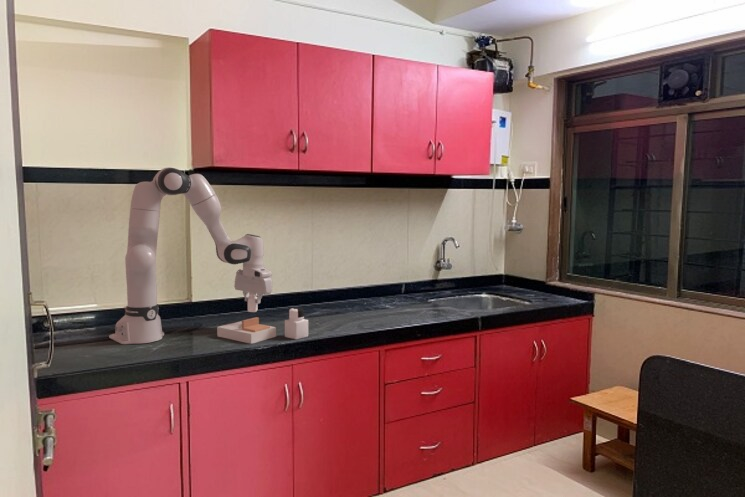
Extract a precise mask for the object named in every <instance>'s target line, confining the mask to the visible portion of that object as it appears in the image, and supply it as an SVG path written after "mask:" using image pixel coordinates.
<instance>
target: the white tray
mask: <svg viewBox="0 0 745 497" xmlns="http://www.w3.org/2000/svg"><path fill="white" fill-rule="evenodd" d="M242 321H243V320H241V321H237V322H231V323H227V324H224V325H220V326H217V328H216V331H217V332H216V333H217V337H218V338H223V339H227V340H231V341H237V342H241V343H246V344H256V343H259V342H263V341H265V340H268V339H273V338H276V337H277V327H275V326H272V325H269V326H270V328H268V329H264V330H261V331H257V332H252V331H248V330H243V329H242ZM261 325H263V324H261Z"/></svg>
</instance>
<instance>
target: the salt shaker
mask: <svg viewBox="0 0 745 497" xmlns="http://www.w3.org/2000/svg"><path fill="white" fill-rule="evenodd" d="M248 296H249V297H248V302H247V312H248V313H257V311H258V307H259V306H258V305H259V303H255V299H257V297H258V296H257V293H252V292H249V293H248Z"/></svg>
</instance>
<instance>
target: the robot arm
mask: <svg viewBox="0 0 745 497" xmlns="http://www.w3.org/2000/svg"><path fill="white" fill-rule="evenodd" d="M181 194H182V195H183V196H184V197H186V199H187V201H188V202H189V204H190V206H191V207H192V209H193V210H194V212H195V214H196V215H197V216H198V218H199V219H200V220H201V222H202V223H204V225H205V226H206V229H207V230H208V232H209V234H210V235H211V238H212V240H213V242H214V244H215V252H216V253H215V254H216V256H217V258H218V259H219V260H220V261H221V262H223V263H227V264H230V265H238V264H242V269H241V268H240V269H238V270H236V272H235V274H236V275H235V278H234V289H235V291H240V292H241V291H242V295H243V297H244V302H247V303H248V297H249V292H252V293H257V294H256V297H257V299H255V303H258V304H261V299H262V298H263V295H271V294H272V292H273V279H272V276H273V272H272V271H271V270H270V269H268V268H266V267H264V260H263V258H264V253H265V252H264V241H263V238H262V237H261V236H260V235H256V234H250V233H246V234H245V235H243V236H242V237H240V238H238V239H236V240H232V239H231V238H230V236H229V235H228V233H227V231H226V229H225V227H224V225H223V223H222V221H221V213H222V205H221V203H220V199H219V198H218V195H217V194H216V192H215V190H214V188H213V187H212V185H211V184H210V183H209V181H208V180H207V179H206V178H205V176H203V175H202V174H201V173H193V174H190V175H188V174H186V173H184V172H183V171H182V170H180V169H178V168H174V167H169V166H168V167H164V168H162V169H160V170H158V171H157V172H156V173H155V175H154V176H153V178H152V179H151V180H150V181H140V182H138V183H137V184H135V186H134V188H133V191H132V195H131V199H130V200H131V201H130V209H129V219H128V230H127V231H128V232H127V233H128V235H127V236H128V237H127V247H126V248H127V250H126V254H125V258H124V259H125V260H124V262H125V263H124V264H125V277H126V278H125V279H126V295H127V296H126V298H127V305H126V306H125V307H124V309H123V310H125V312H124V315H123V316H122V317H121V318H120V319H119V320H118V321H117V322H116V323H115V327H114V329H115V330H114V331H115V333H112V334H109V336H108V337H109V339H111V340H113V341H115V342H117V343H118V344H120V345H131V344H133V345H134V344H139V345H140V344H147V343H153V342H157V341H160V340H162V339H163V337H164V336H165V332H164V331H163V329H162V320H161V316H160V315H159V309H160V308H159V304H158V292H157V289H158V288H157V287H158V286H157V249H158V248H157V246H158V237H159V226H160V216H161V215H160V214H161V203H162V201H163V197H164V196H176V195H177V196H178V195H181Z"/></svg>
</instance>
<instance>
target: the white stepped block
mask: <svg viewBox="0 0 745 497" xmlns="http://www.w3.org/2000/svg"><path fill="white" fill-rule="evenodd" d="M288 312H289V313H288V314H289V316H288V317H289V318H288V319H285V320H284V338H288V339H293V340H299V339H303V338H308V337H309V319H305V310H304V309H303V308H301V307H292V308H290V309H289V310H288Z"/></svg>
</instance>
